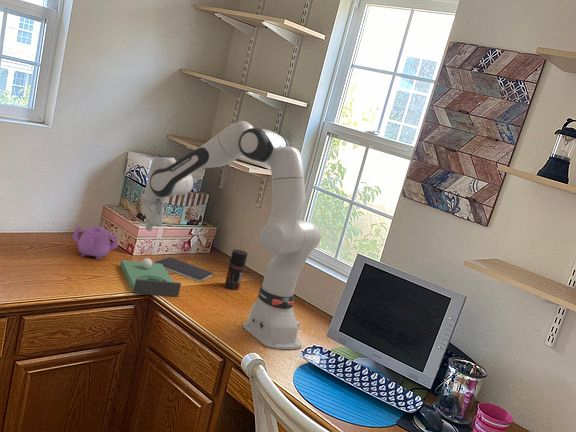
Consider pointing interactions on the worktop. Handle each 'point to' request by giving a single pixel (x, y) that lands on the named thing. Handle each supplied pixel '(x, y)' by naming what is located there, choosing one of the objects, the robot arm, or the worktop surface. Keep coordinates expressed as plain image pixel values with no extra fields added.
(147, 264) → the ball
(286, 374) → the worktop surface
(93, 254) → the pot
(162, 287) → the green
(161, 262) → the notebook
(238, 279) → the deodorant
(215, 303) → the worktop surface
